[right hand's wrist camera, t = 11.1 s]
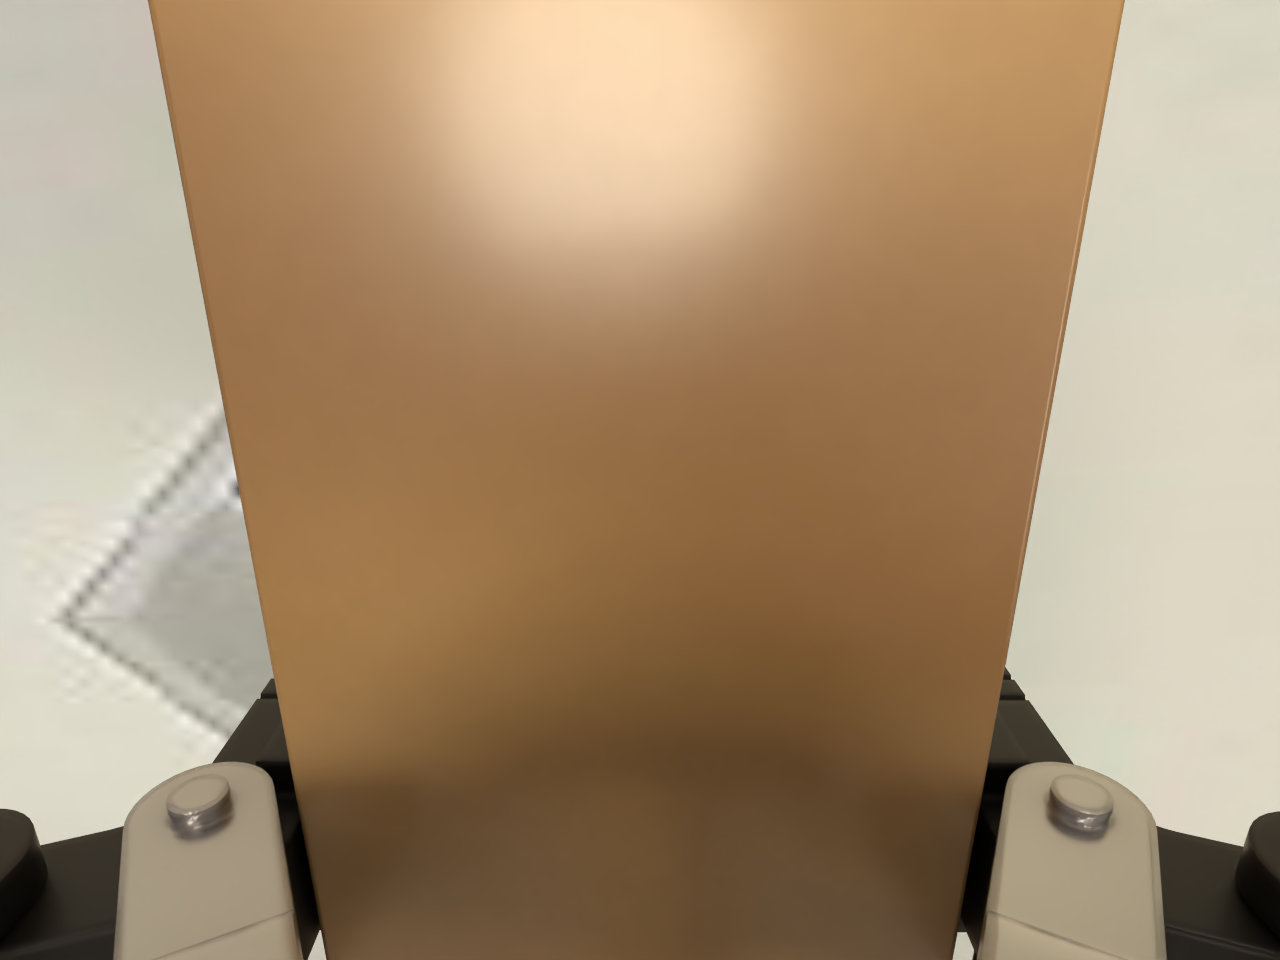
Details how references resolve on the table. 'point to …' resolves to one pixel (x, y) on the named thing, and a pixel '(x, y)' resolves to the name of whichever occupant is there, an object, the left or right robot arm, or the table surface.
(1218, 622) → the table surface
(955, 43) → the box
